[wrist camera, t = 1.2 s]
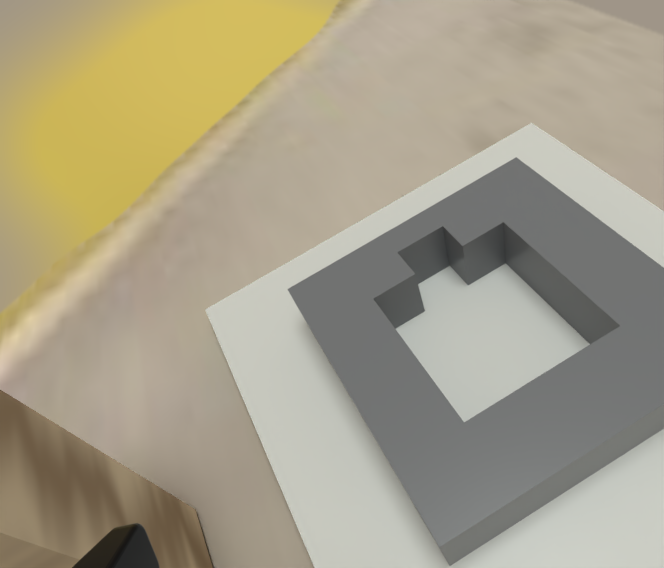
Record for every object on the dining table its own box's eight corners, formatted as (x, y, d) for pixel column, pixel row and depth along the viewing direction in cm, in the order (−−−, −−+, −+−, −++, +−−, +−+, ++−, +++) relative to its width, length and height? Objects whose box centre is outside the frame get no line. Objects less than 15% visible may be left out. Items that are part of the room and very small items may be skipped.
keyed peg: (225, 610, 22) (-18, 526, 12) (125, 672, 22) (-209, 638, 12) (189, 490, 26) (-22, 350, 16) (103, 542, 25) (-169, 432, 15)
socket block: (947, 424, 19) (1025, 370, 16) (413, 786, 17) (389, 801, 14) (531, 136, 34) (531, 78, 30) (212, 319, 32) (179, 277, 29)
